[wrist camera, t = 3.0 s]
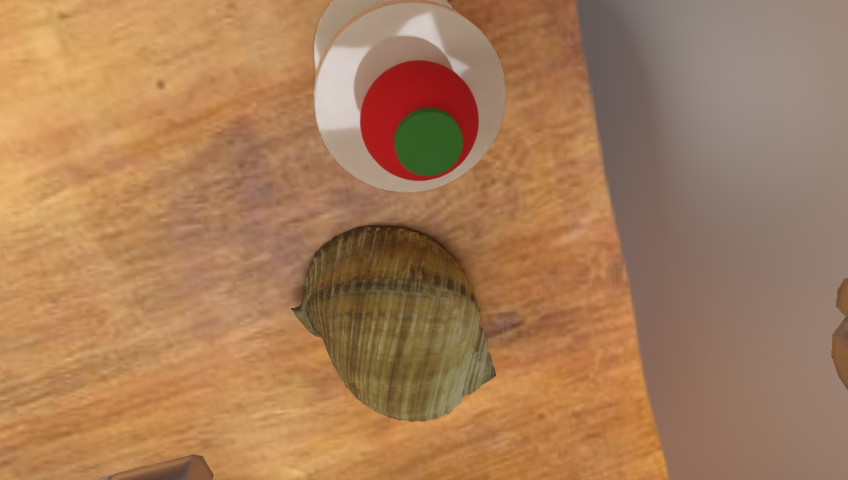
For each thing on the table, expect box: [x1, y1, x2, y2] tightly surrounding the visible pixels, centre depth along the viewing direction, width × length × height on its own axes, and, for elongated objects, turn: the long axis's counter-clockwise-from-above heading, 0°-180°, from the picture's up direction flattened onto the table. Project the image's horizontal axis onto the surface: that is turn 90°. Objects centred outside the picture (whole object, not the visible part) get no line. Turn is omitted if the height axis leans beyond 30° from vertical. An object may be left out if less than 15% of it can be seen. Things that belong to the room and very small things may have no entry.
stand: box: [313, 0, 506, 192], centre depth 24 cm, size 6×6×7 cm
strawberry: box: [360, 60, 479, 181], centre depth 19 cm, size 3×3×4 cm
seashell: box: [291, 226, 496, 422], centre depth 31 cm, size 10×7×8 cm
